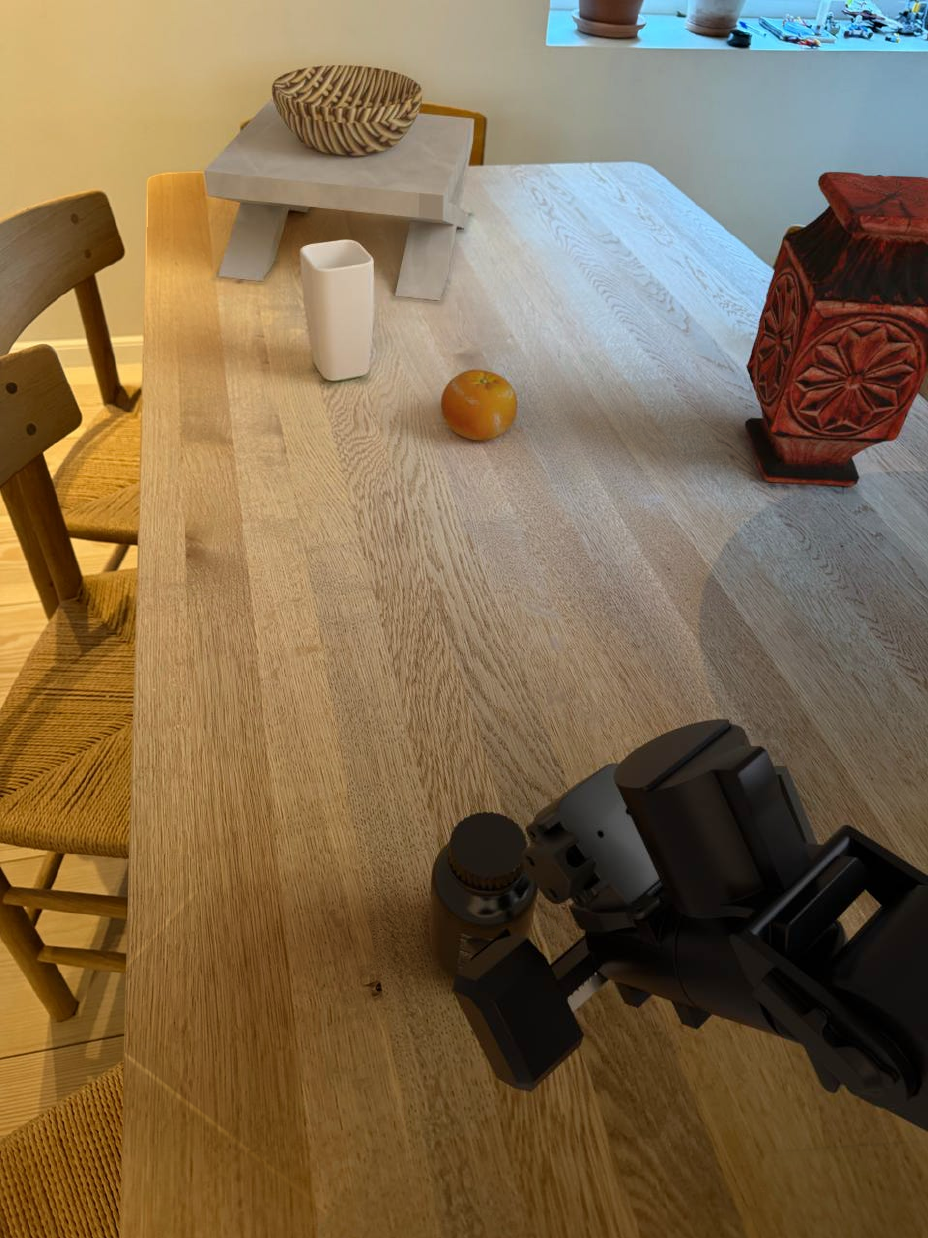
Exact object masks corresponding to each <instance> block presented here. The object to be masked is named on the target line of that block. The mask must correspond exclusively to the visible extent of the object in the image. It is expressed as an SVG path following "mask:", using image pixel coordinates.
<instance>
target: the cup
mask: <svg viewBox="0 0 928 1238" xmlns="http://www.w3.org/2000/svg"><path fill="white" fill-rule="evenodd" d="M299 258H300V259H299V260H300V273H301V284H302V295H303V304H304V313H305V320H306V328H307V332H308V338H309V344H310V350H311V353H312V354H311V355H312V359H313V363H314V366H315V367H316V369H317V370H318V372H319V373H320V374H321V376H322V377H323V378H324V379H326V380H327V381H329V382H333V383H336V382H343V381H349V380H352V379H357V378H358V379H359V378H361V377H363V376H365V375H366V374H368V373H369V371H370V365H371V364H370V363H371V357H372V346H373V335H374V316H375V314H374V313H375V268H374V267H375V265H374V263H375V262H374V258H373V256H372V255H371V254H370V253H369V252H368V251H367V249H365V248H364V246H362V245H361V244H360V242H358V241H356V240H353V239H339V240H331V241H324V242H317V243H310V244H306V245H304V246H302V247H301V248H300V250H299Z"/></svg>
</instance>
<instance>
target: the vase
mask: <svg viewBox="0 0 928 1238" xmlns="http://www.w3.org/2000/svg"><path fill="white" fill-rule="evenodd" d="M817 182H818V183H817V185H818V188H819V190H820V192H821V193H822V195H823V196H824V198H825V200H826V201H827V203H828V206H827V208H826V209H825V210H824V211H823V212H822V213H821V214H819V215H818V216H817V217H816V218H815V219H814V220H813V221H811V222H809V223H808V224H807V225H805V226H804V227H802V228H800V229H798V230H795V231H792V232H788V233H786V234H785V235H784V236H783V237H782V241H781V245H780V250H779V254H778V257H777V262H776V263H775V264H776V265H775V268H774V270H773V274H772V278H771V280H770V282H769V285H768V288H767V289H768V290H767V293H766V296H765V297H766V298H765V302H764V305H763V308H762V311H761V314H760V316H759V317H760V318H759V320H758V327H757V333H756V336H755V339H754V341H753V346H752V348H751V353H750V356H749V359H748V362H747V363H746V366H745V367H746V370H747V373H748V375H749V379H750V382H751V384H752V388H753V391H754V392H755V394H756V399H757V401H758V403H759V406H760V409H761V417H751V418H748V419H747V420H745V423H744V428H745V432H746V435H747V437H748V439H749V442H750V444H751V448H752V450H753V453H754V457H755V460H756V463H757V466H758V468H759V469H758V470H759V471H760V474H761V475H762V478H763V479H764V481H767V482H769V483H784V484H787V483H788V484H801V485H802V484H805V485H817V486H818V485H819V486H838V487H839V486H840V487H848V488H849V487H853V486H855V485H857V484H858V482H859V480H860V476H859V473H858V470H857V467H856V465H855V461H854V459H853V457H855V456H856V455H858V454H859V453H860V452H862V451H864V450H866V449H867V448H869V447H872V446H875V445H877V444H881V443H885V442H893V441H895V440H897V439H898V436H899V435H900V433H901V430H902V428H903V426H904V424H905V421H906V419H907V417H908V414H909V412H910V411H911V408H912V406H913V403H914V401H915V399H916V398H917V396H918V394H919V391H920V389H921V387H922V384H923V381H924V379H925V377H926V375H927V373H928V177H924V176H909V175H908V176H906V175H887V176H886V175H881V174H878V175H864V174H862V173H859V172H846V171H827V172H826V171H825V172H824V173H822V174H821V175H820V176H819V177H818V180H817Z"/></svg>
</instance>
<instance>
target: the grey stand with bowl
mask: <svg viewBox="0 0 928 1238" xmlns="http://www.w3.org/2000/svg"><path fill="white" fill-rule="evenodd" d="M271 96H272V98H270V99H269V100H268V101H267V102H266V103H265V104H264V106H263V107H262V108H261V109H260V110H259V111H258V112H257V113H256V114H255V115H254V117H252V119H250V121H249V122H247V124H246V125H245V126H244V127H243V128H242V129H241V130H240V131H239V132H238V133H237V134H236V136H234V138H233V139H232V140H230V142H229V143H228V144H227V145H226V146H225V148H223V149H222V151H220V152H219V154H218V155H217V156H216V157H215V158H214V159H213V160H212V161H211V162H210V163H209V164H208V166H207V167H206V168H205V169H204V170H203V176H204V177H203V178H204V184H205V191H206V196H207V197H210V198H216V199H221V200H225V201H228V202H229V201H230V202H235V203H239V205H238V209H237V212H236V216H235V219H234V222H233V225H232V229H231V232H230V234H229V235H230V236H229V238H228V242H227V245H226V248H225V251H224V255H223V257H222V261H221V265H220V267H219V271H218V274H217V277H219V278H226V279H227V278H229V279H237V280H247V281H256V282H263V280H264V278H265V277H266V275H267V274H268V272H269V271H270V269H271V268H272V267H273V265H274V264H275V261H276V258H277V253H278V250H279V246H280V243H281V240H282V236H283V232H284V227H285V224H286V221H287V219H288V214H289V212H297V213H298V212H299V213H308V212H309V210H310V208H311V207H312V208H313V207H314V208H320V209H329V210H339V211H340V210H341V211H350V212H359V213H360V212H361V213H369V214H370V213H371V214H378V215H390V216H396V217H400V218H403V219H406V220H409V221H410V224H409V229H408V233H407V237H406V242H405V247H404V251H403V257H402V261H401V266H400V269H399V270H400V271H399V275H398V279H397V285H396V288H395V289H396V290H395V294H394V296H395V297H404V298H413V299H422V300H430V301H431V300H432V301H441V300H442V299H441V298H442V296H443V293H444V289H445V287H446V284H447V281H448V275H449V270H450V265H451V260H452V254H453V250H454V245H455V238H456V233H457V229H463V230H464V229H465V228H466V225H467V222H468V218H469V215H470V212H468V211H466V210H464V209H462V208H461V207H462V202H463V196H464V190H465V186H466V181H467V175H468V170H469V165H470V159H471V153H472V150H473V149H472V148H473V143H474V132H475V131H474V129H475V118H472V117H463V116H451V115H442V114H441V115H440V114H430V113H420V110H421V106H422V101H423V90H422V88H421V85H420V84H419V83H418V82H417V81H416V80H414V79H413V78H411V77H409V76H407V75H404V74H401V73H399V72H397V71H392V70H389V69H383V68H378V67H371V66H365V65H350V64H349V65H348V64H347V65H343V64H342V65H341V64H339V65H338V64H334V65H333V64H332V65H317V66H309V67H304V68H299V69H296V70H292V71H289V72H286V73H285V74H282V75H280V76H279V77H278V78H276V79H275V80H274V81H273V83H272V84H271Z"/></svg>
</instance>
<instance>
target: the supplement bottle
mask: <svg viewBox="0 0 928 1238" xmlns="http://www.w3.org/2000/svg"><path fill="white" fill-rule="evenodd" d="M523 830H524V829H522V828H521V827H520V825H519V824H518V823H517V822H515V820H514V819H512V818H509V816H508V815H503V814H502V813H500V812H499V813H497V812H496V813H495V812H493V811H483V812H476V813H474V814H473V813H472V814H470V815H468V816H466V817H464V818H463V819H462V820H460V821H458V823H457V824H456V826H454V827H453V831H452V832H451V833H450V838H449V841H448V842H447V843H446V844H445V845H444V846H443V847H442V848H441V850H439V852H438V854H437V855H436V858H435V860H434V862H433V865H432V870H431V874H430V875H431V876H430V896H429V897H430V900H429V902H430V903H429V933H428V934H429V937H428V938H429V946H430V950H431V953H432V956H433V959H434V960H435V962H436V963H437V965H438V966H439V968H440V969H441V970H442V971H443V972H444V973H445V974H446V975H447V976H449V977H451V978H452V979H454V980H455V975H456V973H457V972H458V971H459V970H460V969H461V968H463V967H464V966H465V965H466V964H468V962H469V960H470V958H471V957H472V955H471V953H470V951H469V949H468V947H467V945H466V941H467V940H468V939H469V938H482V939H486V940H489V941H491V940H493V939H494V938H495V937H496V936H498V935H499V934H500V933H501V932H502V931H504V930H505V929H506V928H507V929H508V930H509V932H510V934H511V936H512V935H515V934H516V935H520V936H523V937H526V938H528V939H529V940H530V937H531V933H532V932H531V931H532V925H533V921H534V915H535V908H536V904H537V899H538V892H539V891H538V890H539V888H538V886H537V885H536V883H535V882H534V880H533V879H532V878H531V876H530V875H529V873H528V872H527V870H526V869H525V867H524V866H523V864H522V861H521V852H522V851H524V850H525V849H526V848H528V841H527V837H526V835H525V833H524V831H523Z"/></svg>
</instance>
